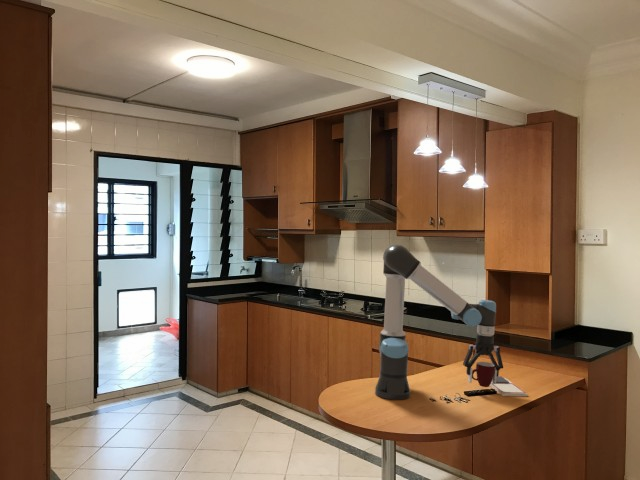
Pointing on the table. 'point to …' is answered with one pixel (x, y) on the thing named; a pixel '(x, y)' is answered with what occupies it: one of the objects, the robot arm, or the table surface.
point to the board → (507, 387)
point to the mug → (484, 373)
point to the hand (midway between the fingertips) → (481, 382)
